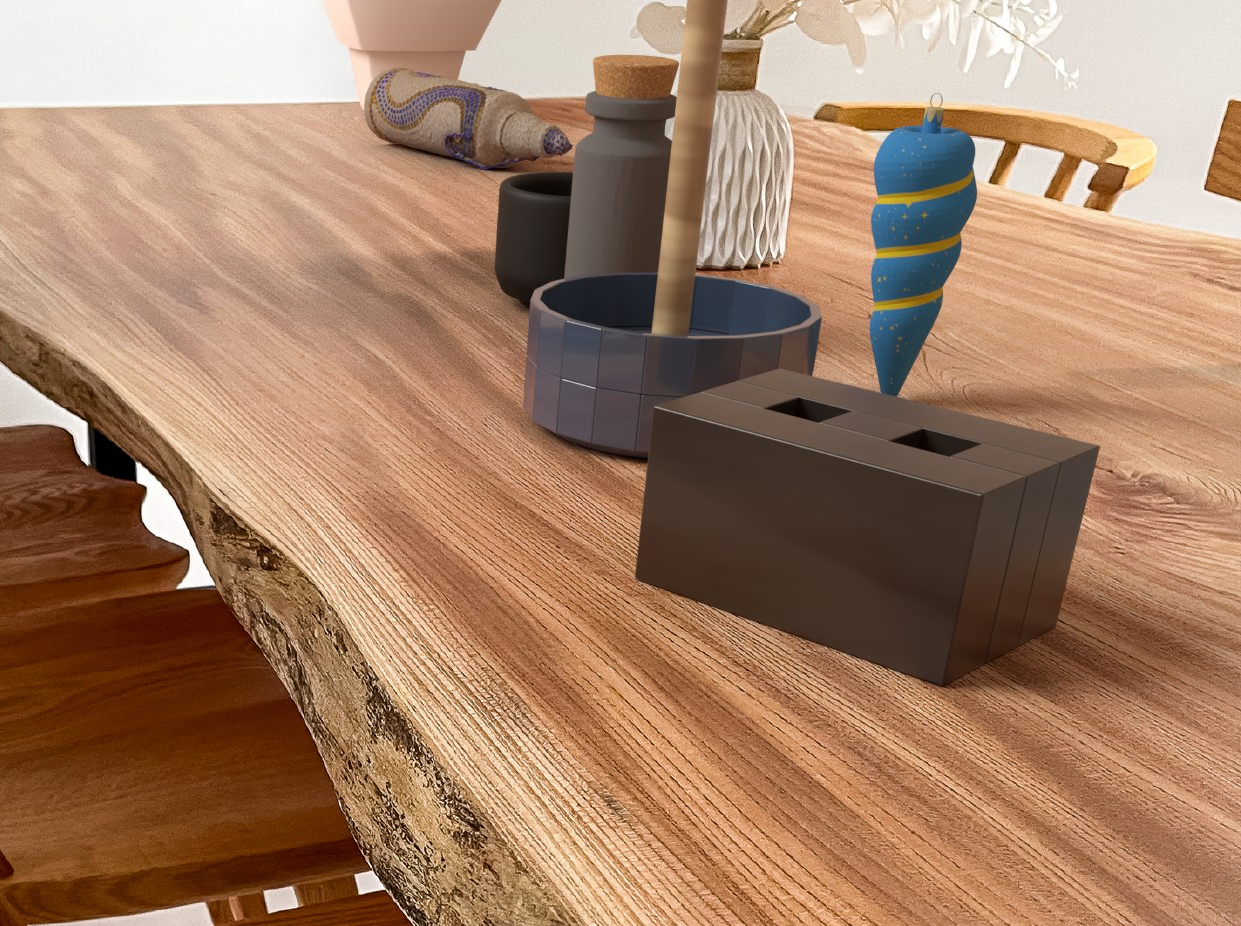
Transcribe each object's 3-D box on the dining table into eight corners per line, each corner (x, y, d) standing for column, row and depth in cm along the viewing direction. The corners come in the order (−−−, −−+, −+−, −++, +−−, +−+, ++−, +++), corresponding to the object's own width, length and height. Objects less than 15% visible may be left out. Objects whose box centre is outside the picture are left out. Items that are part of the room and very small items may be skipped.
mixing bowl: (638, 372, 97) (649, 260, 94) (856, 429, 89) (877, 307, 85) (466, 419, 89) (473, 297, 86) (689, 486, 80) (705, 354, 77)
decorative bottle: (357, 145, 165) (359, 67, 162) (422, 140, 169) (425, 64, 165) (525, 187, 147) (532, 101, 143) (594, 181, 150) (602, 97, 147)
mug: (481, 286, 114) (488, 170, 111) (617, 286, 115) (628, 171, 111) (513, 333, 104) (522, 208, 100) (661, 333, 105) (675, 208, 101)
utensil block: (755, 532, 75) (779, 368, 71) (1056, 626, 67) (1101, 445, 63) (633, 579, 70) (652, 405, 66) (942, 687, 62) (983, 494, 58)
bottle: (677, 337, 104) (710, 60, 96) (621, 355, 100) (650, 69, 92) (597, 319, 107) (622, 50, 99) (539, 336, 103) (561, 58, 96)
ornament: (889, 418, 90) (946, 102, 83) (815, 394, 94) (863, 90, 86) (956, 404, 93) (1017, 96, 85) (881, 381, 96) (934, 84, 89)
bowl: (297, 107, 187) (297, -40, 180) (473, 106, 190) (480, -38, 183) (327, 133, 171) (328, -27, 164) (517, 131, 175) (528, -25, 167)
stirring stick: (657, 405, 89) (704, -11, 80) (686, 413, 88) (736, -9, 78) (636, 411, 88) (680, -10, 78) (664, 419, 87) (712, -7, 77)
